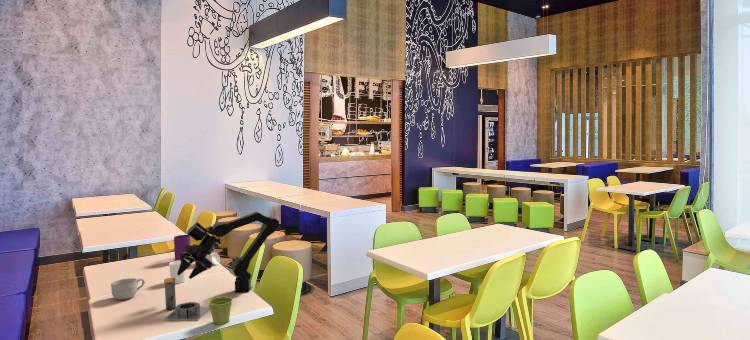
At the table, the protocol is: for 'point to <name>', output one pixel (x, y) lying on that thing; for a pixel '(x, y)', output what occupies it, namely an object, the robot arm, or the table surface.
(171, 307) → the copper capped metal cylinder
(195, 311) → the rosette collar
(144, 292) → the table surface
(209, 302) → the plant pot
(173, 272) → the white cup
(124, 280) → the teacup
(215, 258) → the spread jar
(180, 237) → the purple box
